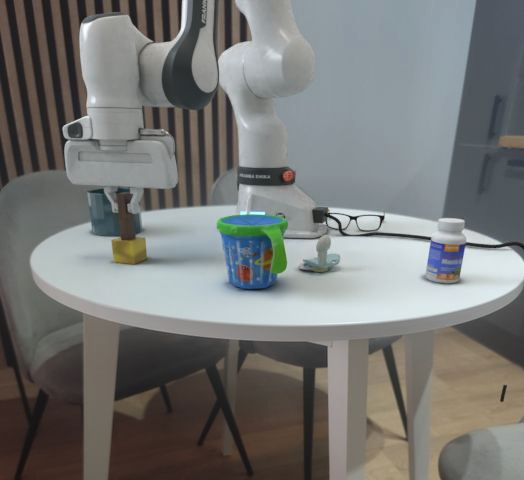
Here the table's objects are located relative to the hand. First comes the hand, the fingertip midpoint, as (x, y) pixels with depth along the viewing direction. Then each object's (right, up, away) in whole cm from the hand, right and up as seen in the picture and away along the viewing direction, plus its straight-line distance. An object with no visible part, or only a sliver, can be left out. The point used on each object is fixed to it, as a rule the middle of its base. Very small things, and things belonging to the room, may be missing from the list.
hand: (125, 212), depth 88 cm
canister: (-9, +3, +27) cm, 29 cm away
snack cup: (+23, -14, -9) cm, 28 cm away
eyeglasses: (+47, +7, +36) cm, 60 cm away
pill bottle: (+54, -13, -5) cm, 56 cm away
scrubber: (0, -8, +4) cm, 9 cm away
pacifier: (+34, -10, -1) cm, 36 cm away
